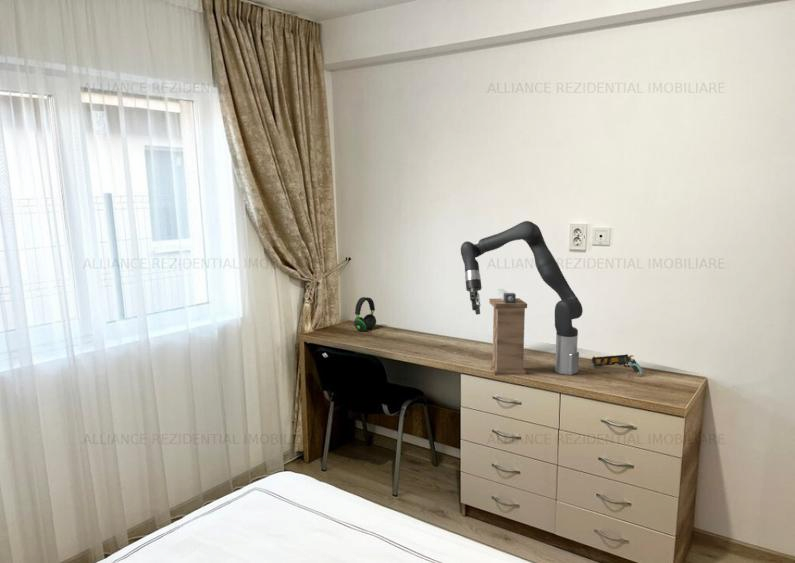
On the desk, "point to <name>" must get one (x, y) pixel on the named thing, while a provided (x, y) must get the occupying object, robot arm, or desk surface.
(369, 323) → the headphones
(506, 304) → the pedestal
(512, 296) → the action camera
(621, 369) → the desk surface
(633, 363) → the toy gun
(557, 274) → the robot arm
